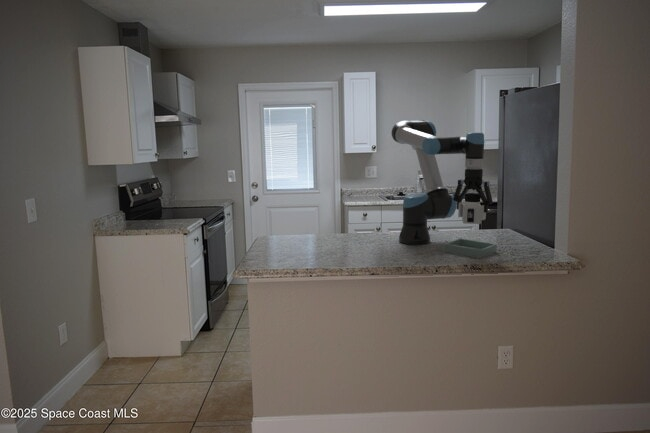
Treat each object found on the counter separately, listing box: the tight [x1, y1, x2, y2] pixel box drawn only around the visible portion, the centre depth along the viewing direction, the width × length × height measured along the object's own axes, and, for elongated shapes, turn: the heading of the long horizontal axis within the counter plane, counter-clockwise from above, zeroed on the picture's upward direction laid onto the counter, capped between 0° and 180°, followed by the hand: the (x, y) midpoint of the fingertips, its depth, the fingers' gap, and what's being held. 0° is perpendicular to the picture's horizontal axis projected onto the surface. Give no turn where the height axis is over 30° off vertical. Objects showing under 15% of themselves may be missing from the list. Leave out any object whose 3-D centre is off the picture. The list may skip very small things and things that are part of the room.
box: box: [443, 238, 498, 259], centre depth 224 cm, size 18×15×4 cm
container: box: [461, 192, 483, 225], centre depth 221 cm, size 8×8×13 cm
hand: (471, 218), depth 222 cm, fingers closed on container, 10 cm apart
